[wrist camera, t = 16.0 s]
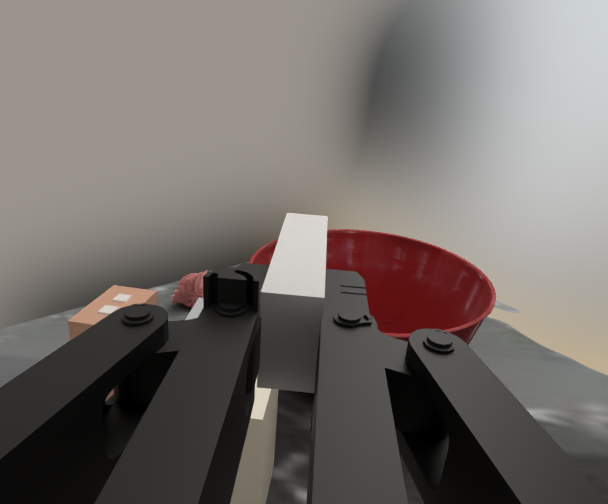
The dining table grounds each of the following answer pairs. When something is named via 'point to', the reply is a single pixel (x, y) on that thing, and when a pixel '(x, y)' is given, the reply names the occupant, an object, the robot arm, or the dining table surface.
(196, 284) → the flower
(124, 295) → the terracotta block
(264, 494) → the cream block
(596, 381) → the dining table surface
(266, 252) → the mixing bowl
